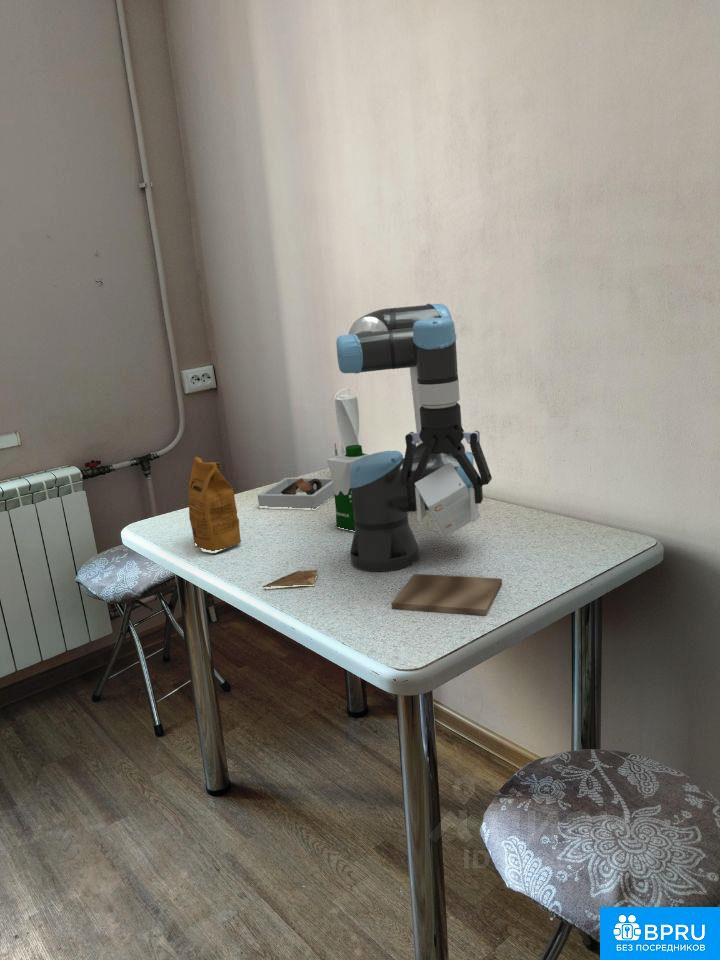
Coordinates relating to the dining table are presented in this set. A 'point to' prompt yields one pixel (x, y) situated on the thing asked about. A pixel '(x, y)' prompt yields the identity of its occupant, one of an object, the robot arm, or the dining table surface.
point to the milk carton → (344, 485)
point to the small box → (446, 498)
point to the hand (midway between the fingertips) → (448, 518)
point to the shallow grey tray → (277, 499)
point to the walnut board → (448, 594)
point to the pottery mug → (303, 487)
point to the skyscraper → (347, 420)
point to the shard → (296, 579)
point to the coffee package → (212, 508)
